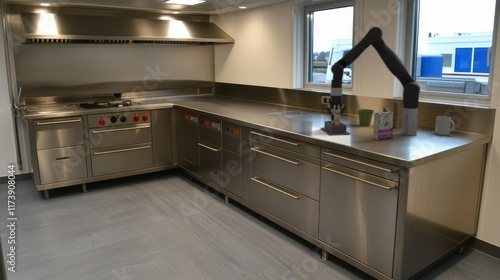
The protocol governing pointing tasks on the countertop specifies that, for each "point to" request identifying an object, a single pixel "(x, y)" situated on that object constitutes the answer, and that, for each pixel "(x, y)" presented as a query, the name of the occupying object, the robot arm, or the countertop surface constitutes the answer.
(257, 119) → the countertop surface
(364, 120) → the plant pot
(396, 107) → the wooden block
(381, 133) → the candy bar box
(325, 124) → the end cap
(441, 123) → the mug
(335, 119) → the beige printed box
